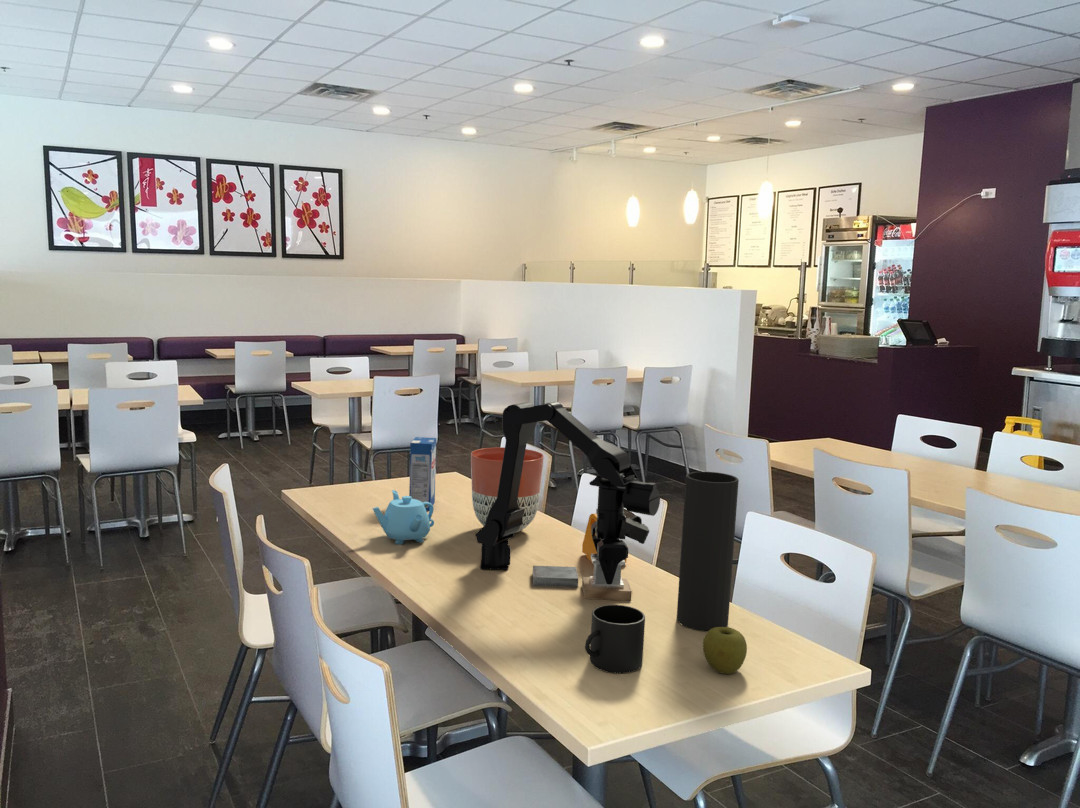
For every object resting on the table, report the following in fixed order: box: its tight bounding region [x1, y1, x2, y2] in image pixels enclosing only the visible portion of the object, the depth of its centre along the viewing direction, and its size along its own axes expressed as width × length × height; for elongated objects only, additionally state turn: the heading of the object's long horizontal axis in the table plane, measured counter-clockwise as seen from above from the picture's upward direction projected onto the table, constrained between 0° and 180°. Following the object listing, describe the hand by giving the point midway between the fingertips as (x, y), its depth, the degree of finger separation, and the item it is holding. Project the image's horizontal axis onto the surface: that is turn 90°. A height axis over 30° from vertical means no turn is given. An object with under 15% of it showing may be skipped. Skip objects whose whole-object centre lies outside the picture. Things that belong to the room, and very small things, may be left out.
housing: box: [589, 554, 626, 588], centre depth 186 cm, size 7×5×6 cm
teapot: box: [372, 489, 435, 546], centre depth 219 cm, size 15×14×11 cm
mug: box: [584, 604, 646, 674], centre depth 150 cm, size 9×12×9 cm
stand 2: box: [581, 576, 633, 601], centre depth 186 cm, size 10×8×2 cm
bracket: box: [581, 513, 628, 564], centre depth 208 cm, size 11×7×12 cm, turn 22°
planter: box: [470, 446, 545, 534], centre depth 229 cm, size 20×20×21 cm
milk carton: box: [408, 436, 437, 512], centre depth 252 cm, size 10×6×20 cm, turn 179°
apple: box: [702, 626, 748, 675], centre depth 150 cm, size 8×8×7 cm
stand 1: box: [532, 565, 579, 588], centre depth 193 cm, size 10×8×2 cm
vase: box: [676, 471, 739, 632], centre depth 170 cm, size 10×10×30 cm
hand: (606, 577), depth 186 cm, fingers open, 9 cm apart
